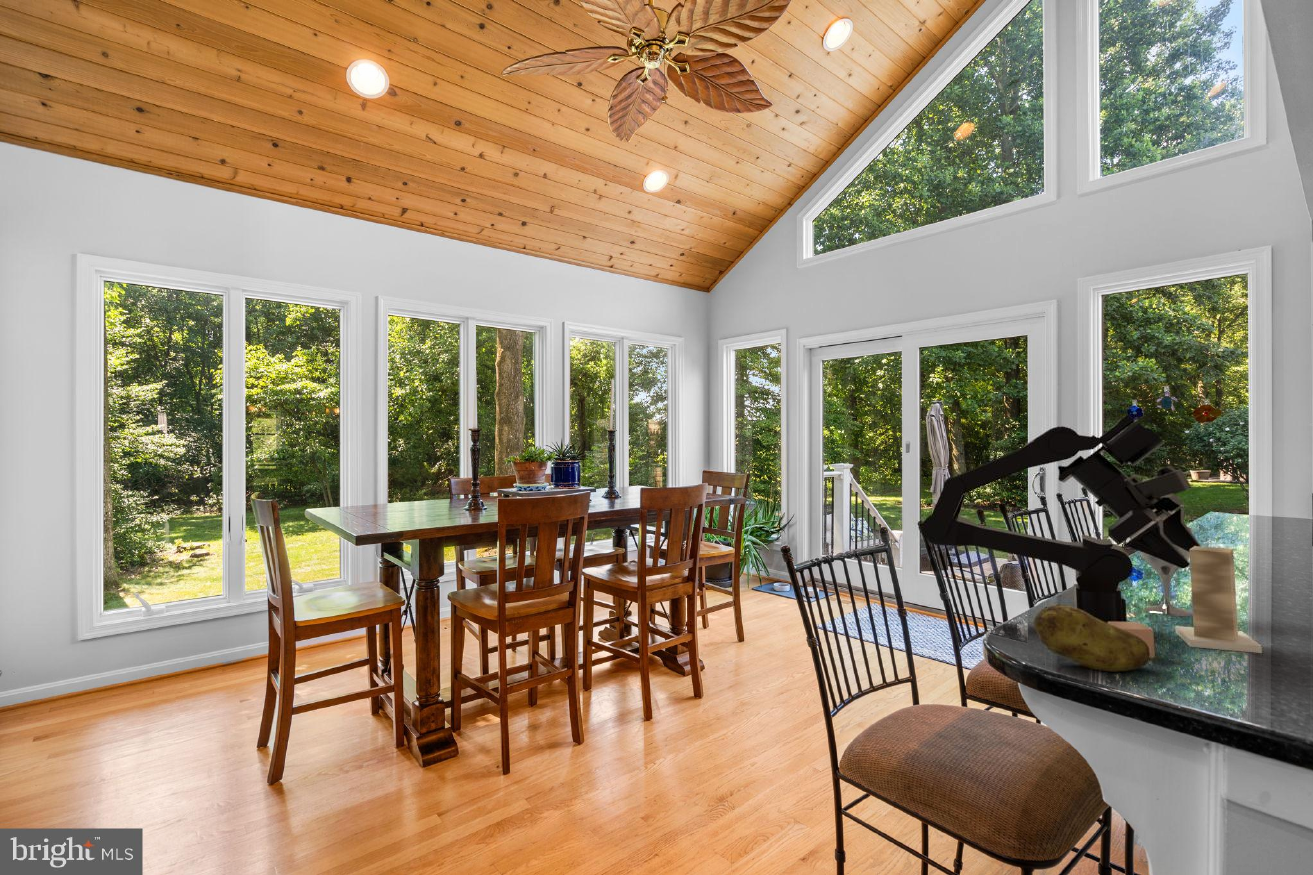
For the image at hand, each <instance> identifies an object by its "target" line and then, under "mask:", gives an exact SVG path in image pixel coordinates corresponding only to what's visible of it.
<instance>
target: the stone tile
mask: <svg viewBox="0 0 1313 875" xmlns="http://www.w3.org/2000/svg"><path fill="white" fill-rule="evenodd" d="M1175 633H1176V634H1177V635H1178V636H1179V638H1180V639H1182V640H1183V641H1184V643H1186V644H1187V645H1188V646H1189V648H1201V649H1211V650H1213V649H1214V650H1224V651H1232V652H1233V651H1234V652H1236V651H1237V652H1246V653H1257V654H1262V653H1263V647H1262V645H1261V644H1259V643H1258V642H1257V641H1255V640H1253V638H1251V637H1250V636H1249V635H1248V634H1246V633H1245V632H1243V631H1242V630H1238V636H1237V638H1236V640H1235V642H1232V641H1225V640H1219V639H1212V638H1205V637H1199V636H1194V626H1181V625H1175Z"/></svg>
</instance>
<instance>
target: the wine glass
mask: <svg viewBox="0 0 1313 875" xmlns="http://www.w3.org/2000/svg"><path fill="white" fill-rule="evenodd" d="M1187 527H1188V526H1187ZM1188 529H1189V530H1190V531H1191V533H1192V534H1193V528H1192V527H1188ZM1193 535H1194V534H1193ZM1173 545H1174V544H1173ZM1174 546H1175V547H1176V548H1177V549H1178V550H1179V551H1180V553H1181V554H1182V555H1183V556H1184V557H1185V558H1186V560H1187V561H1188V562H1189V561H1190V554H1189V552H1188V551H1186V550H1184V549H1182V548H1180V547H1178V546H1176V545H1174ZM1139 554H1140V555H1141V558H1142V559H1143V560H1144V561H1145V562H1146V563H1147V564H1148V566H1150V567H1151V568H1152V569H1153V570H1154V571H1155V572H1156V573H1157V575H1158V576H1159V578H1160V579H1161V580H1160V581H1161V584H1162V589H1163V595H1164V596H1163V598H1164V602H1163V603H1162V604H1159V605H1147V606H1144V607H1142V610H1143V611H1145V612H1148V613H1151V614H1155V615H1161V616H1169V617H1191V616H1192V617H1193V611H1191V610H1189V609H1185V608H1181V607H1177V606H1174V605H1173V604H1172V603H1171V595H1170V593H1171V583H1172V579H1173V578H1174V576H1175V574H1176V573H1177V572H1178V571H1179V570H1181V568H1180V567H1178V566H1175V565H1173V564H1171V563H1168V562H1166V561H1163V560H1161V559H1159V558H1156V557H1154V556H1151V555H1149V554H1146V553H1143V552H1141V551H1139Z"/></svg>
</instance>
